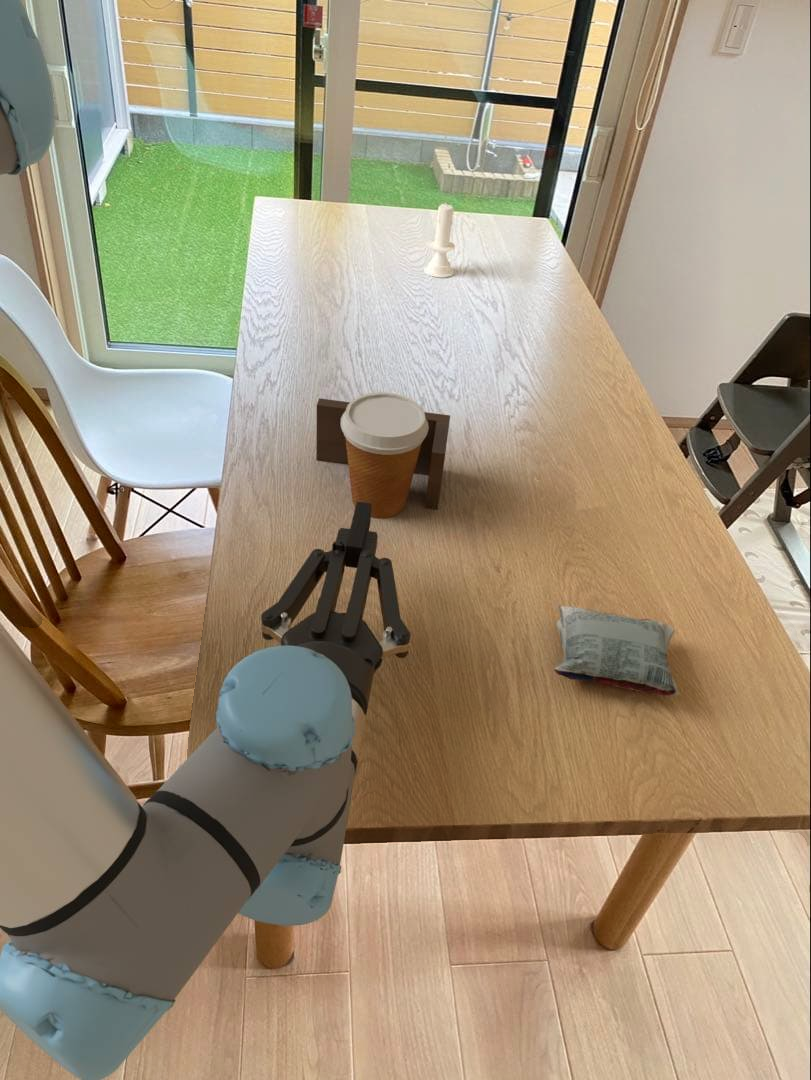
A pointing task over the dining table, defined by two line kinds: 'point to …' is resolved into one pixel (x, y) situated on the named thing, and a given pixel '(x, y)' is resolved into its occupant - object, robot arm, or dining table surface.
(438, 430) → the corner
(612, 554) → the dining table surface
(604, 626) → the packaged food
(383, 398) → the disposable coffee cup
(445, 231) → the candle
